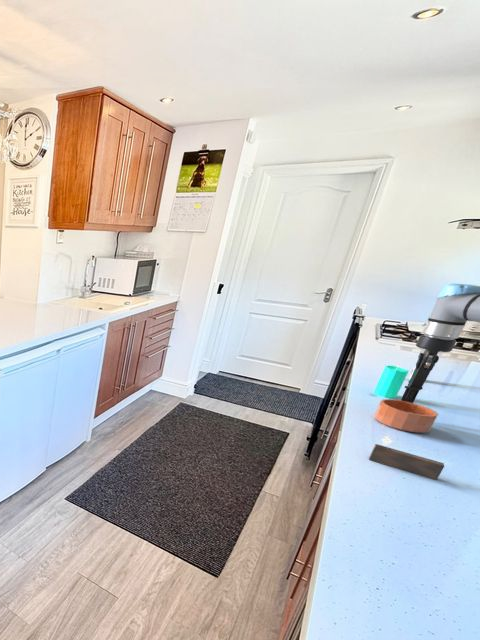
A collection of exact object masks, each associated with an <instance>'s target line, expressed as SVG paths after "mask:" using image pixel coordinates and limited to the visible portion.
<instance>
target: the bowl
mask: <svg viewBox="0 0 480 640" xmlns="http://www.w3.org/2000/svg"><path fill="white" fill-rule="evenodd" d="M438 416H440V415H439V413H438V412H437V411H436V410H434V409H432V408H429V407H428V406H427V407H426V406H424V405H421V404H418V403H415V402H413V403H411V402H406V401H401V399H394V398H384V399H382V400H380V402H379V404H378V406H377V408H376V410H375V412H374V414H373V417H374V419H375V420H376V421H378V422H380V423H381V424H383V425H385V426H387V427H390V428H393V429H396V430H400V431H404V432H409V433H416V434H417V433H419V434H423V433H424V434H425V433H429V432H430V431H431V430H432V428H433V426H434V425H435V422H436V420H437V418H438Z"/></svg>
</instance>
